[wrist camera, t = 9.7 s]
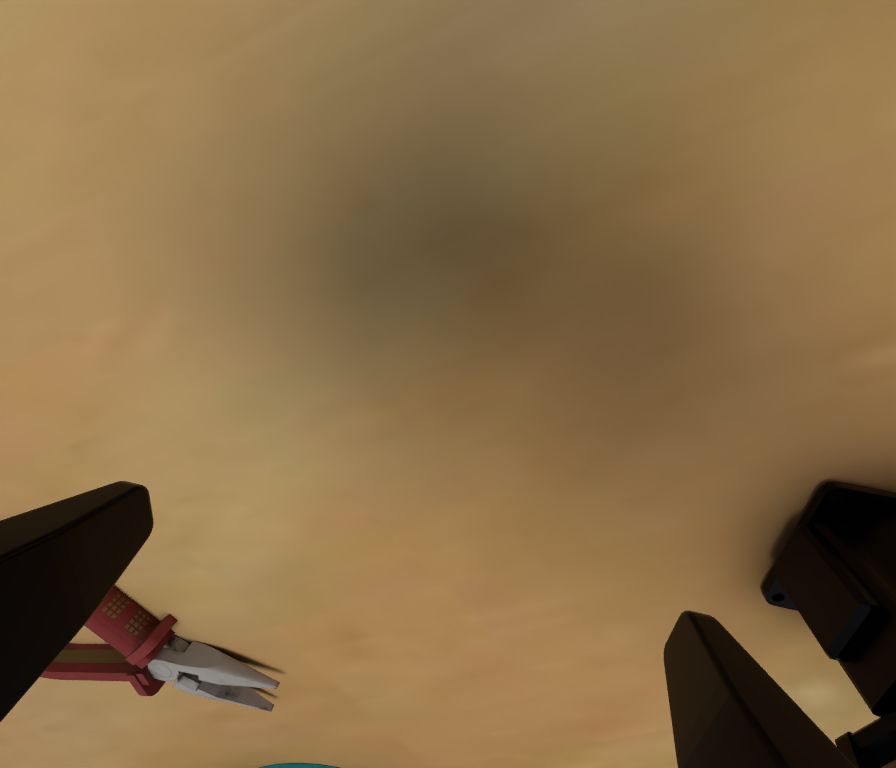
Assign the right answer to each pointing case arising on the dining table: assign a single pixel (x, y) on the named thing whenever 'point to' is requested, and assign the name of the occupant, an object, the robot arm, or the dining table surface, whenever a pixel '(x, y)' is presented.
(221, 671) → the pliers
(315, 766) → the pipe fitting
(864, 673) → the robot arm
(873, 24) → the dining table surface
